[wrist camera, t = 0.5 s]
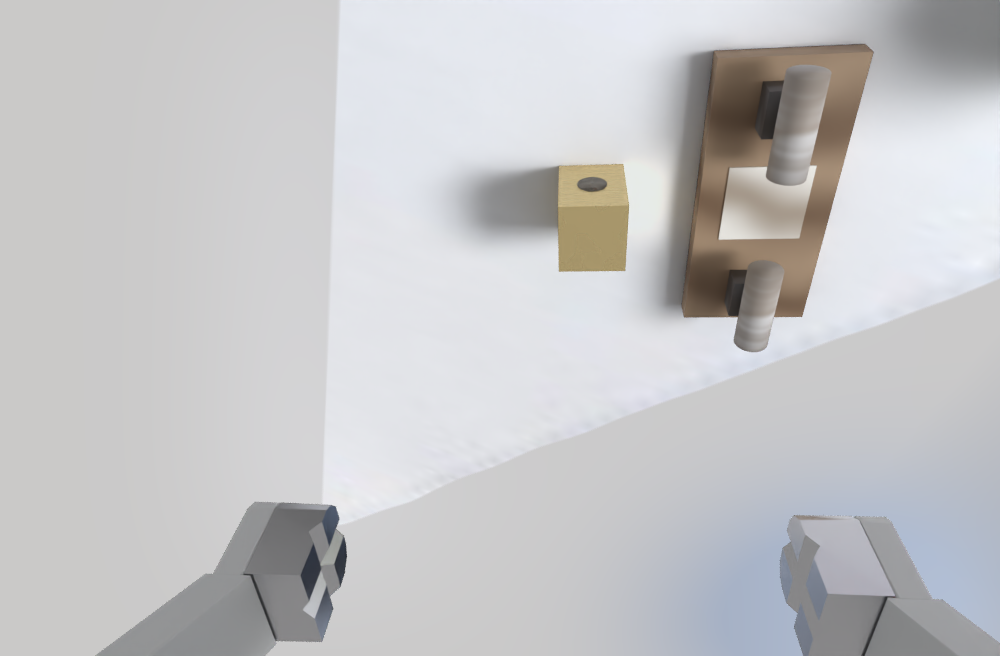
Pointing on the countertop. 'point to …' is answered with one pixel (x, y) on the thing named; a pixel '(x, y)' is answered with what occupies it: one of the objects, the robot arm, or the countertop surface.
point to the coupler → (592, 218)
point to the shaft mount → (768, 180)
